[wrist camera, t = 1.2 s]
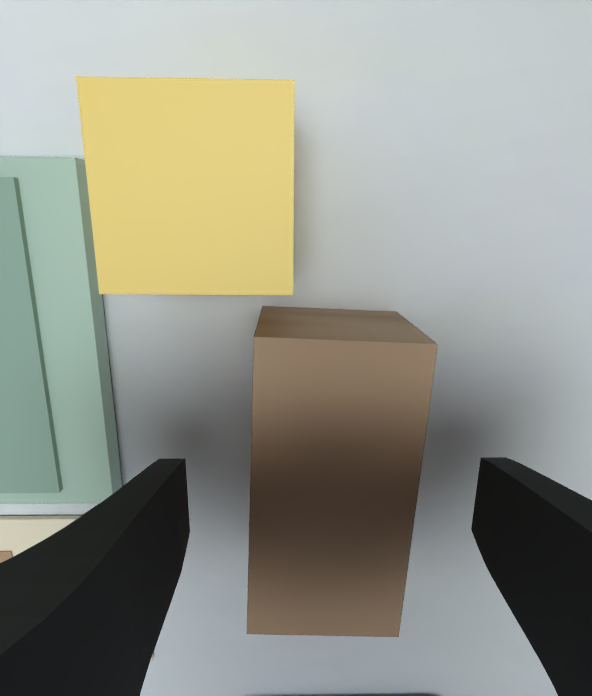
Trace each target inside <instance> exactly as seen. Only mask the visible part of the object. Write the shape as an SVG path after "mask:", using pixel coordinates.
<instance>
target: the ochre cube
mask: <svg viewBox="0 0 592 696" xmlns="http://www.w3.org/2000/svg"><path fill="white" fill-rule="evenodd" d="M76 81H77V90H78V100H79V109H80V118H81V128H82V137H83V147H84V156H85V165H86V175H87V184H88V194H89V203H90V212H91V222H92V231H93V241H94V250H95V259H96V269H97V278H98V288H99V294H167V295H293V245H294V94H295V80H273V79H208V78H143V77H79V76H76Z"/></svg>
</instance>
